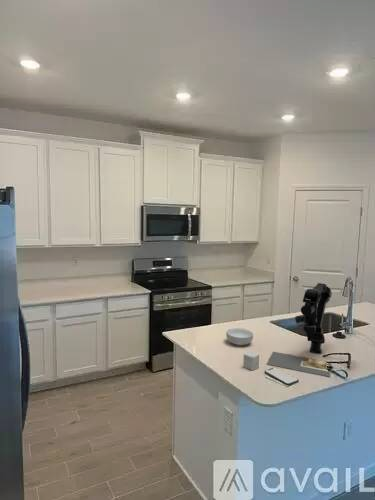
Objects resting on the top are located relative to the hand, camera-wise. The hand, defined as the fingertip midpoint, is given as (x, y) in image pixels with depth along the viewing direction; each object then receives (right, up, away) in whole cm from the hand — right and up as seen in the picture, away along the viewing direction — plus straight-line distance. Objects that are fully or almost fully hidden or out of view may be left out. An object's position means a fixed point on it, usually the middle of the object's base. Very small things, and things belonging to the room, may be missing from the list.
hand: (309, 338), depth 194 cm
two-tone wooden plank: (-1, -12, -9) cm, 15 cm away
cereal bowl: (-37, -9, +23) cm, 44 cm away
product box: (-36, -13, -12) cm, 39 cm away
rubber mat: (-8, -13, -6) cm, 16 cm away
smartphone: (-22, -14, -22) cm, 34 cm away
